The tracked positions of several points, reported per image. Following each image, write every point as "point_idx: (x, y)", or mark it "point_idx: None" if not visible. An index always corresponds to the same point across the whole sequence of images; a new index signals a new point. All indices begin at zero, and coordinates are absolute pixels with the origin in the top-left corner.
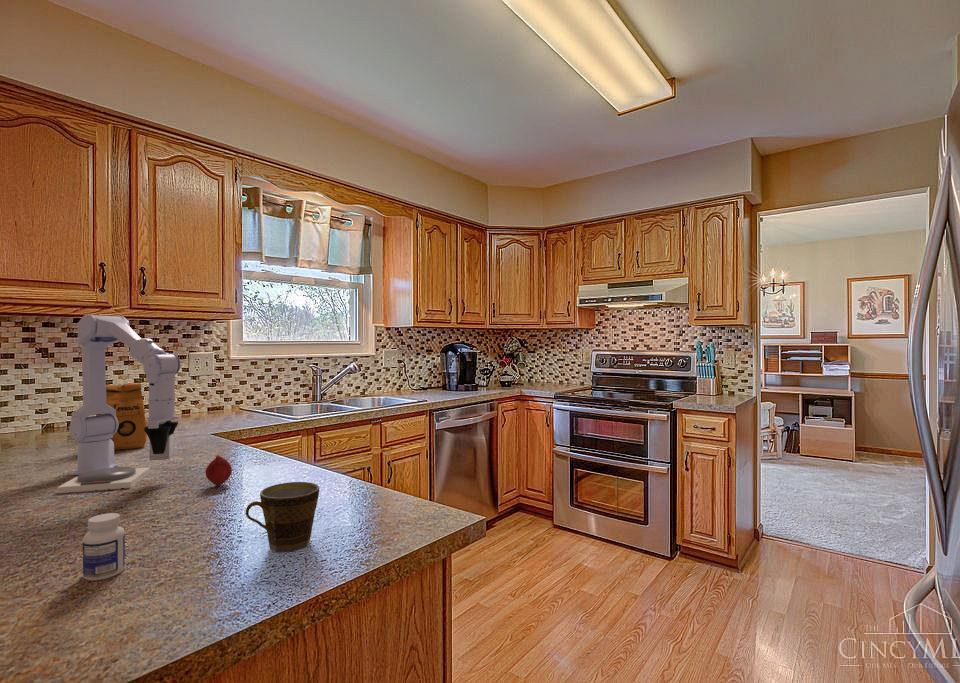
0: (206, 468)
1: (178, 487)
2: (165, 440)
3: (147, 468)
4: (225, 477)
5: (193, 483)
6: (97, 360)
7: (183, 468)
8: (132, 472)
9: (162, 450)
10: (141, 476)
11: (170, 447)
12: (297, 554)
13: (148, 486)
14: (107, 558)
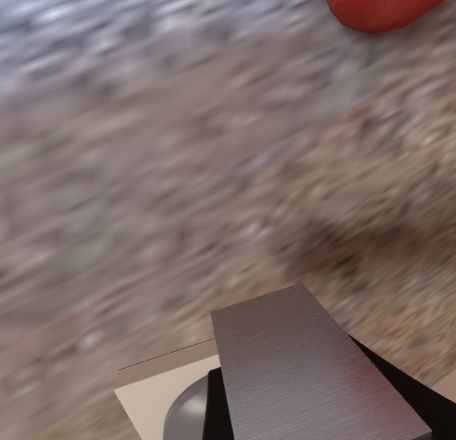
0: (430, 7)
1: (324, 169)
2: (420, 396)
3: (132, 387)
4: None
5: (280, 136)
6: None
7: (31, 303)
8: None
9: (356, 341)
10: (212, 348)
11: (316, 337)
12: None
13: (292, 273)
14: None
